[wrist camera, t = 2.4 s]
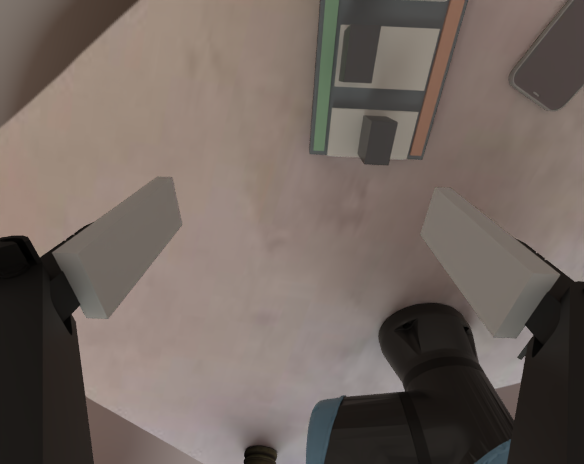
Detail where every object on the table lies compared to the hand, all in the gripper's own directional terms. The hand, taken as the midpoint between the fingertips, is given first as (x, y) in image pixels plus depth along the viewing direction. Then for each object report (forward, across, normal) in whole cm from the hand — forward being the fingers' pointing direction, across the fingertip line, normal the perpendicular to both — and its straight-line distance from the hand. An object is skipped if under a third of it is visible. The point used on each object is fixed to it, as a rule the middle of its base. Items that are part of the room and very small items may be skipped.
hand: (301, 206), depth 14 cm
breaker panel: (+21, -8, -7) cm, 23 cm away
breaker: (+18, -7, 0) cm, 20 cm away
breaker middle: (+18, -5, -7) cm, 20 cm away
